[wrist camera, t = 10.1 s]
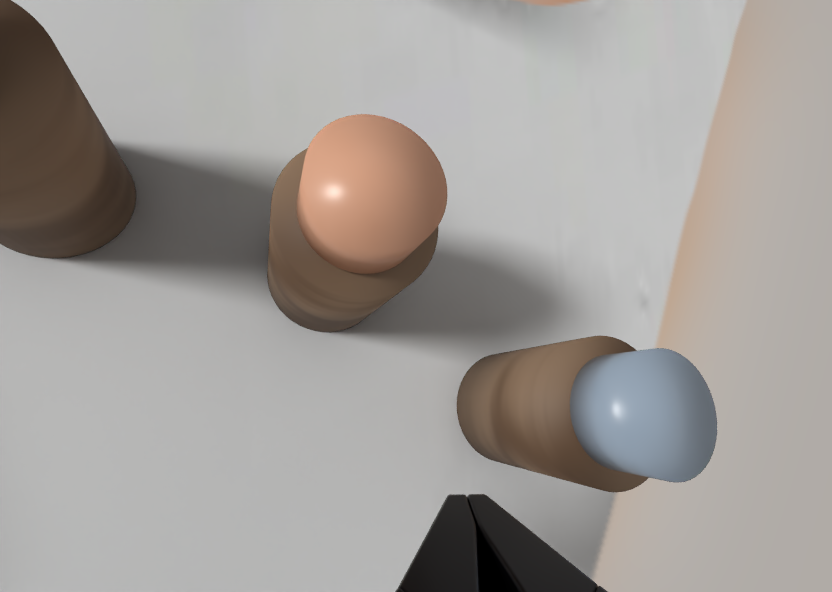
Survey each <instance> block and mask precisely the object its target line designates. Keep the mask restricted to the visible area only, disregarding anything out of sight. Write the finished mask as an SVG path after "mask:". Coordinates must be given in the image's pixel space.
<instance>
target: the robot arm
mask: <svg viewBox="0 0 832 592" xmlns="http://www.w3.org/2000/svg"><path fill="white" fill-rule="evenodd" d="M395 592H607V591H606V590H605V589H603V588H602V587H601V586H597V584H596V583H595V582H594V581H592V580H591V579H590V578H589V577H587V576H586V575H585V574H584V573H582V572H581V571H580V570H579V569H577V568H576V567H575V566H574V565H572V564H571V563H570V562H569V561H567V560H566V559H565V558H564V557H562V556H561V555H560V554H559V553H557V552H556V551H555V550H554V549H553V548H551V547H550V546H549V545H548V544H546V543H545V542H544V541H543V540H541V539H540V538H539V537H538V536H536V535H535V534H534V533H533V532H531V531H530V530H529V529H528V528H526V527H525V526H524V525H523V524H521V523H520V522H519V521H518V520H516V519H515V518H514V517H513V516H511V515H510V514H509V513H508V512H506V511H505V510H504V509H503V508H502V507H500V506H499V505H498V504H497V503H495V502H494V501H493V500H492V499H490V498H489V497H488V496H486V495H484V494H470V495H468V496H467V497H466V496H465V495H448V496H447V498H446V500H445V502H444V503H443V505H442V507H441V509H440V511H439V513H438V515H437V516H436V518H435V520H434V522H433V524H432V526H431V528H430V529H429V531H428V533H427V535H426V537H425V539H424V541H423V542H422V544H421V546H420V548H419V550H418V552H417V554H416V555H415V557H414V559H413V561H412V563H411V565H410V567H409V568H408V570H407V572H406V574H405V576H404V578H403V580H402V581H401V583H400V585H399V587H398V589H397V590H396V591H395Z"/></svg>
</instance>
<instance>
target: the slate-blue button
mask: <svg viewBox="0 0 832 592" xmlns="http://www.w3.org/2000/svg"><path fill="white" fill-rule="evenodd" d="M570 415H571V421H572V425H573V428H574V432H575V434H576V436H577V439H578V441H579V442H580V444H581V446H582V447H583V449H584V450H585V452H586V453H587V454H588V455H589V456H590V457H591V458H592V459H593V460H594V461H595V462H597V463H598V464H600V465H601V466H603V467H606V468H608V469H611V470H616V471H620V472H625V473H630V474H635V475H640V476H645V477H649V478H655V479H659V480H664V481H669V482H685V481H688V480H691V479H692V478H694V477H696V476H697V475H698V474H700V473H701V472H702V471H703V469H704V468H705V467H706V465H707V464H708V462H709V461H710V459H711V456H712V454H713V451H714V448H715V442H716V436H717V418H716V411H715V406H714V402H713V398H712V396H711V393H710V390H709V388H708V386H707V384H706V382H705V380H704V378H703V377H702V375H701V374H700V372H699V371H698V370H697V368H696V367H695V366H694V365H693V364H692V363H691V362H690V361H689V360H688V359H686V358H685V357H683V356H682V355H681V354H679V353H677V352H675V351H672V350H669V349H663V348H656V349H648V350H640V351H632V352H624V353H616V354H607V355H601V356H598V357H595V358H593V359H591V360H590V361H588V362H587V363H586V364H585V365H584V366H583V367H582V368H581V369H580V371H579V372H578V374H577V376H576V378H575V380H574V383H573V386H572V390H571V395H570Z"/></svg>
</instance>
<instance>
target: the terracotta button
mask: <svg viewBox="0 0 832 592" xmlns="http://www.w3.org/2000/svg"><path fill="white" fill-rule="evenodd" d="M446 204H447V185H446V179H445V175H444V172H443V169H442V167H441V164H440V162H439V160H438V159H437V157H436V155H435V154H434V152H433V151H432V149H431V148H430V147H429V146H428V145H427V143H426V142H425V141H424V140H423V139H422V138H421V137H420V136H418V135H417V134H416V133H415V132H413V131H412V130H411V129H409V128H408V127H406V126H404V125H402V124H401V123H398V122H396V121H394V120H391V119H388V118H385V117H381V116H376V115H367V114H361V115H351V116H346V117H343V118H340V119H338V120H335V121H333V122H331V123H330V124H328V125H327V126H325V127H324V128H323V129H322V130H321V131H319V132H318V134H317V135H316V136H315V137H314V138H313V140H312V142H311V143H310V145H309V147H308V150H307V152H306V155H305V160H304V164H303V170H302V175H301V181H300V186H299V192H298V197H297V207H296V210H297V218H298V223H299V226H300V229H301V231H302V234H303V235H304V237H305V239H306V241H307V242H308V244H309V245H310V246H311V248H312V249H313V250H314V251H315V252H316V253H317V254H318V255H319V256H320V257H322V258H323V259H324V260H325V261H327V262H328V263H330V264H331V265H333V266H335V267H337V268H340V269H342V270H345V271H348V272H353V273H359V274H374V273H379V272H383V271H386V270H389V269H391V268H393V267H395V266H397V265H398V264H400V263H401V262H402V261H403V260H404V259H406V258H407V257H408V256H409V255H410V254H411V253H412V252H413V251H414V250H415V249H416V248H417V247H418V246H419V245H420V244H421V243H422V242H423V241H424V240H425V239H427V238H428V237H429V236H430V235H431V234H432V233H433V232H434V230H435V229H436V228H437V227H438V225H439V223H440V221H441V220H442V217H443V215H444V212H445V208H446Z"/></svg>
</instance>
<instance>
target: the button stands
mask: <svg viewBox="0 0 832 592" xmlns="http://www.w3.org/2000/svg"><path fill="white" fill-rule="evenodd" d="M307 150H308V148H307V149H305V150H304V151H302V152H301V153H299V154H298V155H296V156H295V157H294V158H293V159H292V160H291V161H290V162H289V163H288V164H287V165H286V167H285V168H284V169H283V170H282V172H281V174H280V176H279V177H278V179H277V182H276V184H275V187H274V190H273V194H272V199H271V214H270V233H269V252H268V271H267V278H268V285H269V290H270V292H271V295H272V298H273V299H274V301H275V303H276V305H277V306H278V307H279V309H280V310H281V311H282V312H283V313H284V314H285V315H286V316H287V317H288V318H289V319H290V320H292V321H293V322H295V323H297V324H298V325H300V326H302V327H305V328H307V329H310V330H314V331H320V332H335V331H340V330H345V329H347V328H350V327H352V326H354V325H356V324H358V323H359V322H361V321H362V320H363V319H365V318H366V317H367V316H369V315H370V314H371V313H373V312H374V311H375V310H377V309H378V308H379V307H381V306H382V305H383V304H385V303H386V302H387V301H389V300H390V299H391V298H393V297H394V296H395V295H396V294H398V293H399V292H400V291H402V290H403V289H404V288H406V287H407V286H408V285H410V284H411V283H412V282H414V281H415V280H416V279H417V278H418V277H419V276H420V275H421V274H422V272H423V271H424V270H425V269H426V267H427V266H428V264H429V262H430V260H431V259H432V256H433V254H434V251H435V248H436V244H437V238H438V227H437V228H436V229H435V230H434V232H433V233H432V234H431V235H430V236H429V237H428V238H427V239H425V240H424V241H423V242H422V243H421V244H420V245H419V246H418V247H417V248H416V249H415V250H414V251H413V252H412V253H411V254H410V255H409V256H408V257H407V258H406V259H404V260H403V261H402V262H401V263H400V264H398V265H397V266H395V267H393V268H391V269H389V270H386V271H383V272H379V273H374V274H359V273H353V272H348V271H345V270H342V269H340V268H337V267H335V266H333V265H331V264H330V263H328V262H327V261H325V260H324V259H323V258H322V257H320V256H319V255H318V254H317V253H316V252H315V251H314V250H313V249H312V248H311V246H310V245H309V244H308V242H307V241H306V239H305V237H304V235H303V234H302V231H301V229H300V226H299V223H298V218H297V210H296V207H297V197H298V192H299V186H300V181H301V175H302V170H303V164H304V160H305V155H306V152H307ZM135 202H136V190H135V185H134V182H133V179H132V176H131V174H130V173H129V171H128V169H127V167H126V165H125V164H124V162H123V160H122V159H121V157H120V155H119V154H118V152H117V150H116V148H115V147H114V145H113V143H112V142H111V140H110V138H109V136H108V135H107V133H106V131H105V130H104V128H103V126H102V124H101V123H100V121H99V119H98V118H97V116H96V114H95V112H94V111H93V109H92V107H91V106H90V104H89V102H88V100H87V99H86V97H85V95H84V94H83V92H82V90H81V89H80V87H79V85H78V83H77V82H76V80H75V78H74V77H73V75H72V73H71V71H70V70H69V68H68V66H67V65H66V63H65V61H64V59H63V58H62V56H61V54H60V53H59V51H58V49H57V47H56V46H55V44H54V42H53V41H52V39H51V37H50V36H49V35H48V33H47V32H46V31H45V29H44V28H43V27H42V26H41V25H40V24H39V22H38V21H37V20H36V19H35V18H34V17H33V16H31V15H30V14H29V13H28V12H27V11H25V10H24V9H23V8H22V7H20V6H19V5H17V4H16V3H14V2H13V1H11V0H0V244H2V245H4V246H5V247H7V248H9V249H12V250H14V251H16V252H19V253H23V254H26V255H30V256H36V257H44V258H64V257H71V256H76V255H81V254H84V253H87V252H90V251H93V250H95V249H97V248H99V247H102V246H103V245H105V244H107V243H108V242H110V241H111V240H112V239H114V238H115V237H116V236H117V235H118V234H119V233H120V232H121V231H122V230H123V229H124V228H125V226H126V225H127V223H128V222H129V220H130V218H131V216H132V214H133V211H134V208H135ZM632 351H637V350H635V349H634V348H633V347H631V346H630V345H629V344H627V343H625V342H623V341H621V340H619V339H616V338H613V337H608V336H593V337H587V338H581V339H576V340H570V341H565V342H560V343H554V344H549V345H543V346H538V347H532V348H527V349H521V350H516V351H510V352H505V353H499V354H494V355H490V356H487V357H484V358H482V359H480V360H479V361H477V362H476V363H475V364H474V365H473V366H472V367H471V368H470V369H469V370H468V371H467V373H466V374H465V376H464V378H463V380H462V382H461V385H460V388H459V391H458V396H457V414H458V420H459V424H460V427H461V429H462V432H463V434H464V436H465V437H466V439H467V441H468V442H469V443H470V445H471V446H472V447H473V448H474V449H475V450H476V451H477V452H478V453H480V454H481V455H483V456H484V457H486V458H488V459H491V460H493V461H497V462H501V463H504V464H508V465H512V466H515V467H519V468H523V469H526V470H530V471H534V472H537V473H541V474H545V475H548V476H552V477H556V478H559V479H563V480H567V481H570V482H574V483H578V484H581V485H585V486H589V487H592V488H596V489H600V490H604V491H608V492H623V491H627V490H631V489H633V488H635V487H637V486H639V485H641V484H642V483H643V482H644V481H646V480H647V479H648V478H649V477H645V476H640V475H635V474H630V473H625V472H620V471H616V470H611V469H608V468H606V467H603V466H601V465H600V464H598V463H597V462H595V461H594V460H593V459H592V458H591V457H590V456H589V455H588V454H587V453H586V452H585V450H584V449H583V447H582V446H581V444H580V442H579V441H578V439H577V436H576V434H575V432H574V428H573V425H572V421H571V415H570V395H571V390H572V386H573V383H574V380H575V378H576V376H577V374H578V372H579V371H580V369H581V368H582V367H583V366H584V365H585V364H586V363H587V362H588V361H590V360H591V359H593V358H595V357H598V356H601V355H607V354H616V353H624V352H632Z"/></svg>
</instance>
